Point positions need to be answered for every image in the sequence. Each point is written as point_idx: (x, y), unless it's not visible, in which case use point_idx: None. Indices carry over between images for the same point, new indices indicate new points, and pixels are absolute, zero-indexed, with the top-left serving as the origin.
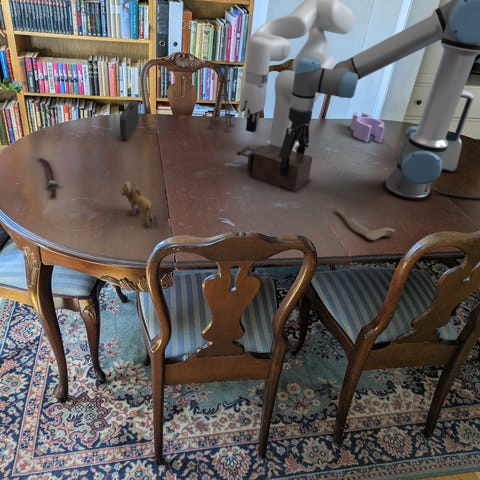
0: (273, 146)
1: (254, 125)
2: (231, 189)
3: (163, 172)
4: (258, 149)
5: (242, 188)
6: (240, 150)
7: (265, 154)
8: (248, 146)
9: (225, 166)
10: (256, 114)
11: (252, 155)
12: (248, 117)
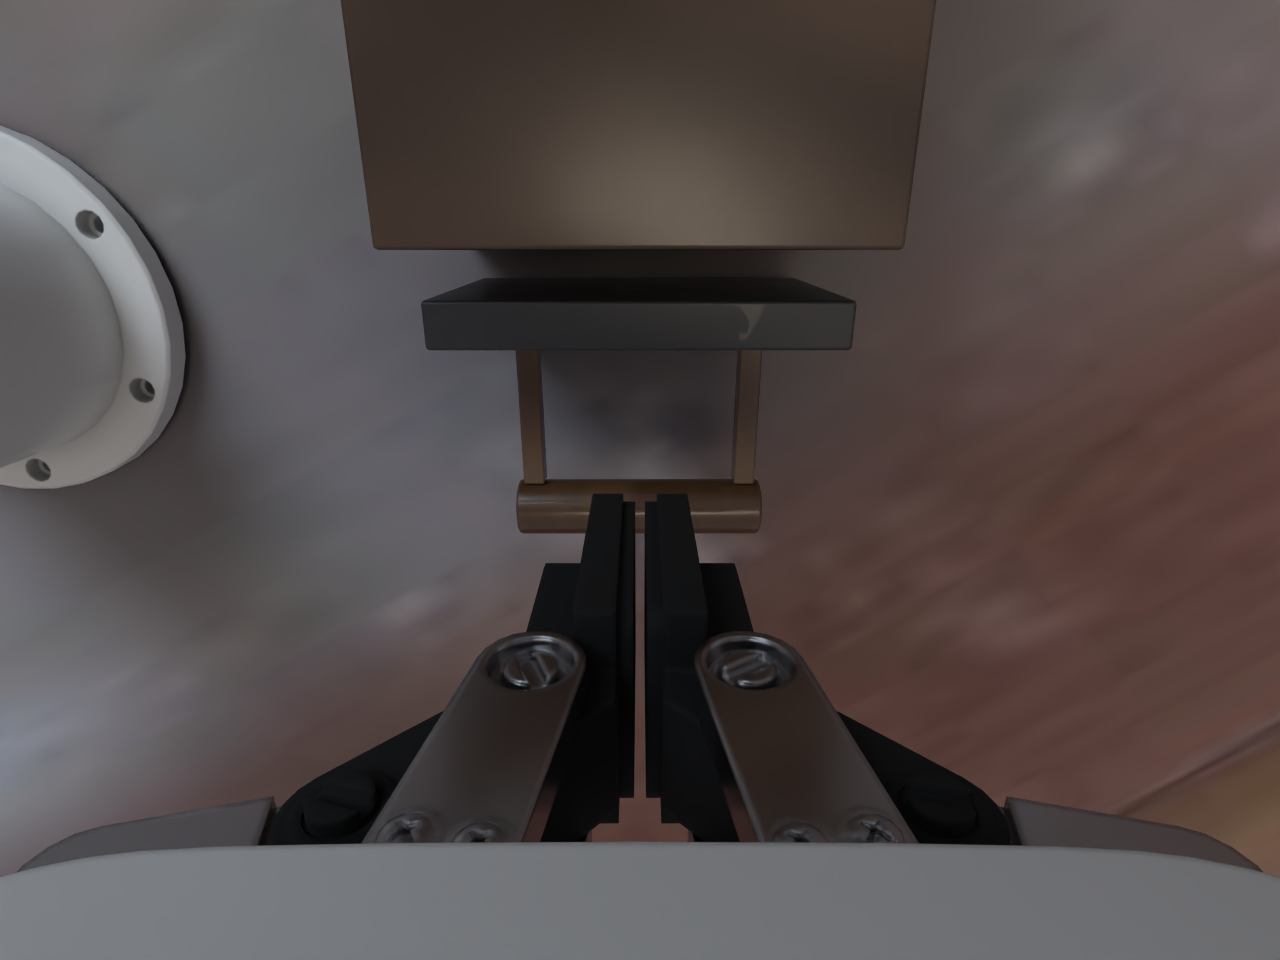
0: (419, 137)
1: (696, 556)
2: (1183, 249)
3: (1134, 804)
4: (617, 318)
5: (1111, 171)
6: (720, 515)
7: (841, 63)
8: (528, 509)
9: (748, 547)
10: (551, 780)
11: (820, 297)
12: (1060, 816)
